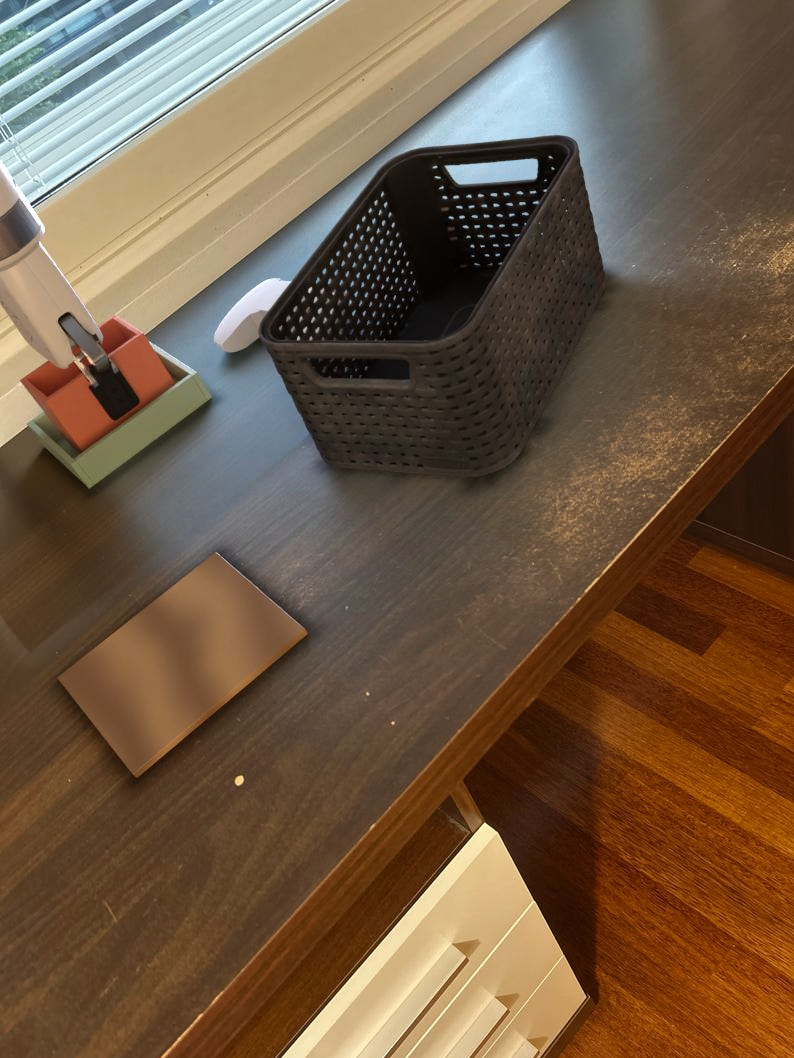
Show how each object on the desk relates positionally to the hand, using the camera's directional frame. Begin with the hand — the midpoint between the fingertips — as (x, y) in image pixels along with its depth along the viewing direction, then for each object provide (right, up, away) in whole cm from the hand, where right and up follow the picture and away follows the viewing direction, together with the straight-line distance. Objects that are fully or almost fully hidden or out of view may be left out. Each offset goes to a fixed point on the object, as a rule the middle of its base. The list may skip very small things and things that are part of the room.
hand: (110, 397), depth 99 cm
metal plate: (+13, -25, -20) cm, 34 cm away
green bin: (+1, -2, +3) cm, 4 cm away
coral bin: (+1, -2, +2) cm, 3 cm away
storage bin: (+35, +1, -7) cm, 36 cm away
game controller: (+17, +7, +4) cm, 19 cm away
